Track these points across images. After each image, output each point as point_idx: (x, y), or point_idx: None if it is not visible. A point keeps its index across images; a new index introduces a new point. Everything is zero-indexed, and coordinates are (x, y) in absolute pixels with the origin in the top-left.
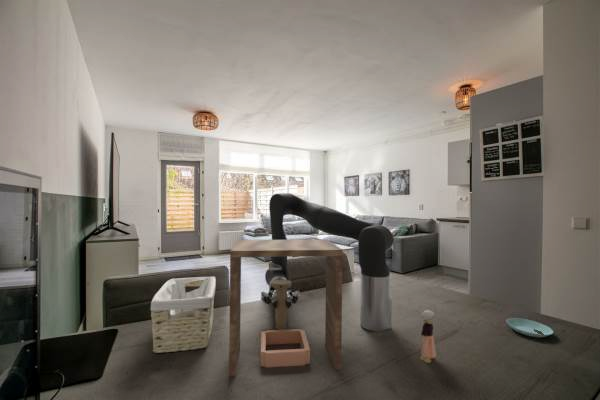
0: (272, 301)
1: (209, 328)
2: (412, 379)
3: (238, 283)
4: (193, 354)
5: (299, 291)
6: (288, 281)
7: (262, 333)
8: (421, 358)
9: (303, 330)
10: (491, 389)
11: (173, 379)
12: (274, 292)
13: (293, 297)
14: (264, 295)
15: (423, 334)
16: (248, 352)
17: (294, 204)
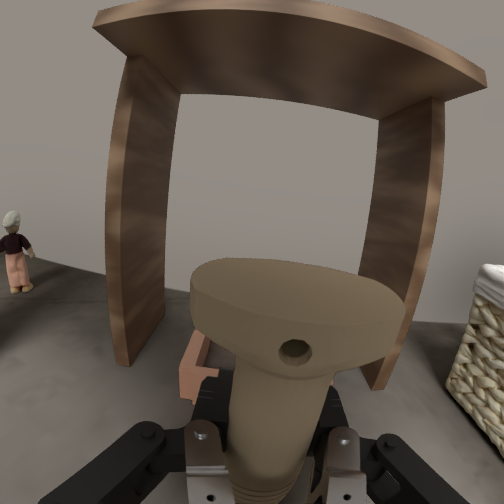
0: (336, 401)
1: (470, 371)
2: (82, 282)
3: (392, 180)
4: (448, 374)
5: (41, 499)
6: (223, 281)
7: None
8: (29, 289)
9: (182, 364)
10: (40, 261)
11: (423, 335)
12: (356, 495)
13: (160, 430)
14: (425, 464)
15: (30, 244)
16: (346, 381)
17: None
